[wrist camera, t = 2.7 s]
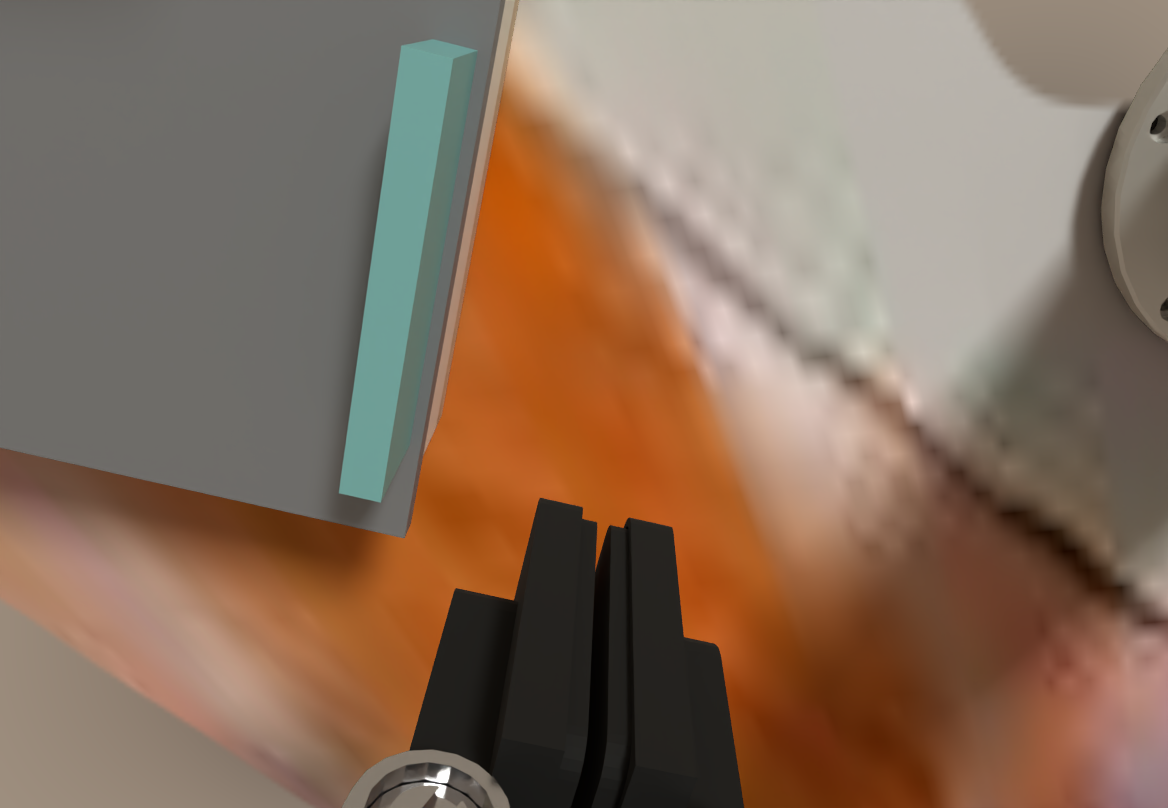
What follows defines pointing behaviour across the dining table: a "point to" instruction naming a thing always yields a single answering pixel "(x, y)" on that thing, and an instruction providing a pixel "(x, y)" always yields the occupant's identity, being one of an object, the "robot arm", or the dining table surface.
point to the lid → (236, 239)
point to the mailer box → (473, 210)
